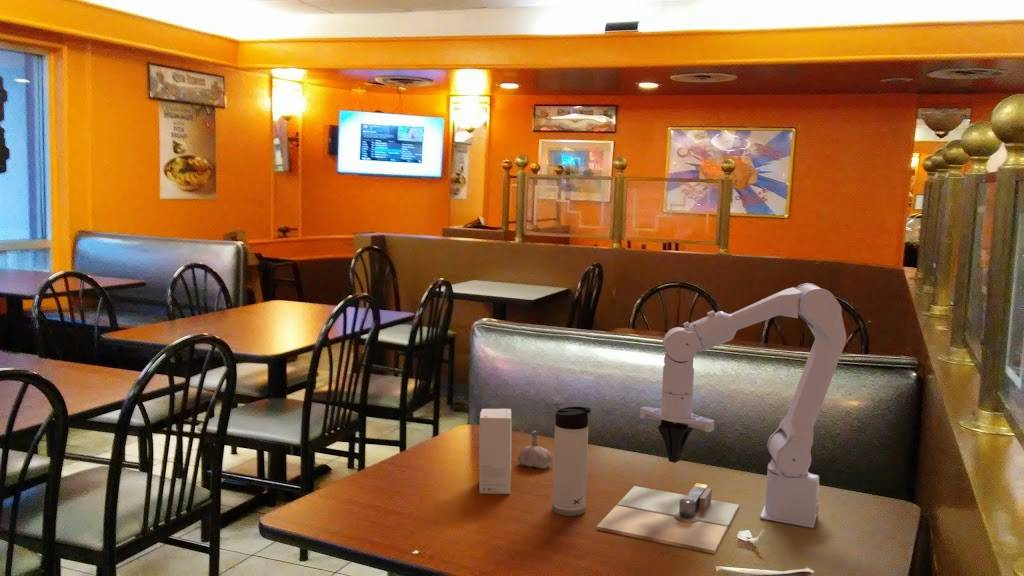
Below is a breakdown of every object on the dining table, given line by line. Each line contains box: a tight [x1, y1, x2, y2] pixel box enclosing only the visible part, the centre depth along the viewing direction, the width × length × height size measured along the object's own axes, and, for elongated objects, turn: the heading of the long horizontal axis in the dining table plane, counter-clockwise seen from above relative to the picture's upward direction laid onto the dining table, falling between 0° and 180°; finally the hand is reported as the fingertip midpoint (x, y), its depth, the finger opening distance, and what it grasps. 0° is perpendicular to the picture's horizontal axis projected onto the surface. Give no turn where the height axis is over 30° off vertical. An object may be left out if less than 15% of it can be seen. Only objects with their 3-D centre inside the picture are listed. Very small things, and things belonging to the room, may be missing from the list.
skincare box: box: [478, 408, 513, 495], centre depth 165 cm, size 8×7×16 cm
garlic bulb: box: [517, 430, 554, 469], centre depth 179 cm, size 8×7×8 cm
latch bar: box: [679, 482, 709, 518], centre depth 155 cm, size 13×3×3 cm, turn 154°
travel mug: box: [552, 406, 592, 517], centre depth 154 cm, size 6×7×20 cm
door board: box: [596, 485, 740, 555], centre depth 152 cm, size 21×23×3 cm
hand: (674, 460), depth 156 cm, fingers closed
